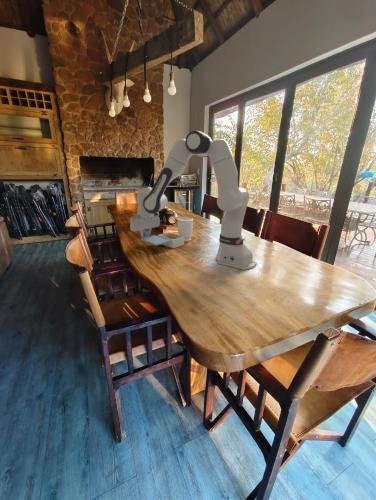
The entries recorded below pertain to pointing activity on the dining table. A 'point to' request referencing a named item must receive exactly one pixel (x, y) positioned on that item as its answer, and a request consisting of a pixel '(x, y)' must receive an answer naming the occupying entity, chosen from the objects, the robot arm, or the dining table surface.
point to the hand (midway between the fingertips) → (145, 235)
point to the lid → (153, 239)
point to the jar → (185, 227)
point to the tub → (173, 240)
